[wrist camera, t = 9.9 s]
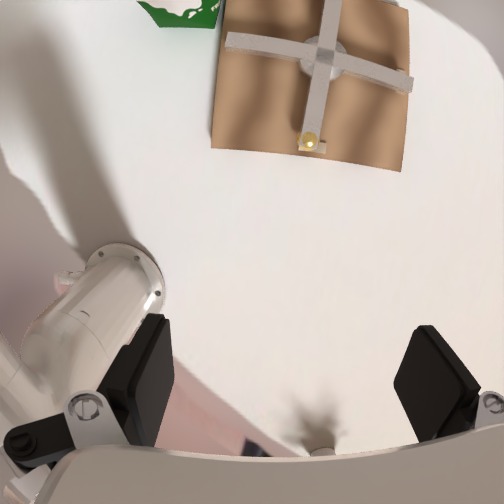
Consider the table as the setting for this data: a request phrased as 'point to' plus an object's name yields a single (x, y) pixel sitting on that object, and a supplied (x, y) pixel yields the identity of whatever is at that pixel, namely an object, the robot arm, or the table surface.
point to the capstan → (319, 67)
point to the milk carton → (183, 12)
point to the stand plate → (296, 85)
